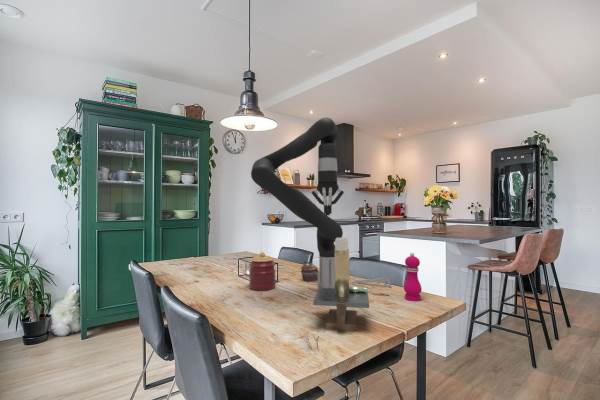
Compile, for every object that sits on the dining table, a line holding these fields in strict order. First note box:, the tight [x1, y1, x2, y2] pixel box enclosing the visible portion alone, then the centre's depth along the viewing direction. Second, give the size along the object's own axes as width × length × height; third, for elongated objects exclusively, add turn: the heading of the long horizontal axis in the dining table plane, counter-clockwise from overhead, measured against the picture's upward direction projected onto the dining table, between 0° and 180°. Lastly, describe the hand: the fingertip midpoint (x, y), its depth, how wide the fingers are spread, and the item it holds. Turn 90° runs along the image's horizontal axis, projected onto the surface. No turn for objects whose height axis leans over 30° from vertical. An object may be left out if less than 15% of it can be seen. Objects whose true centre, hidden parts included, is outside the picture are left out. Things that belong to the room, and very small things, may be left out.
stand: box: [325, 302, 358, 332], centre depth 109 cm, size 10×20×10 cm, turn 169°
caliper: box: [351, 274, 392, 288], centre depth 159 cm, size 20×1×6 cm, turn 59°
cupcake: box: [300, 261, 319, 283], centre depth 170 cm, size 10×10×10 cm
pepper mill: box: [403, 252, 423, 302], centre depth 135 cm, size 7×7×20 cm
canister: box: [248, 251, 276, 292], centre depth 156 cm, size 13×13×18 cm
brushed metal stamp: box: [312, 237, 370, 309], centre depth 109 cm, size 18×16×21 cm
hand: (327, 215), depth 121 cm, fingers closed
